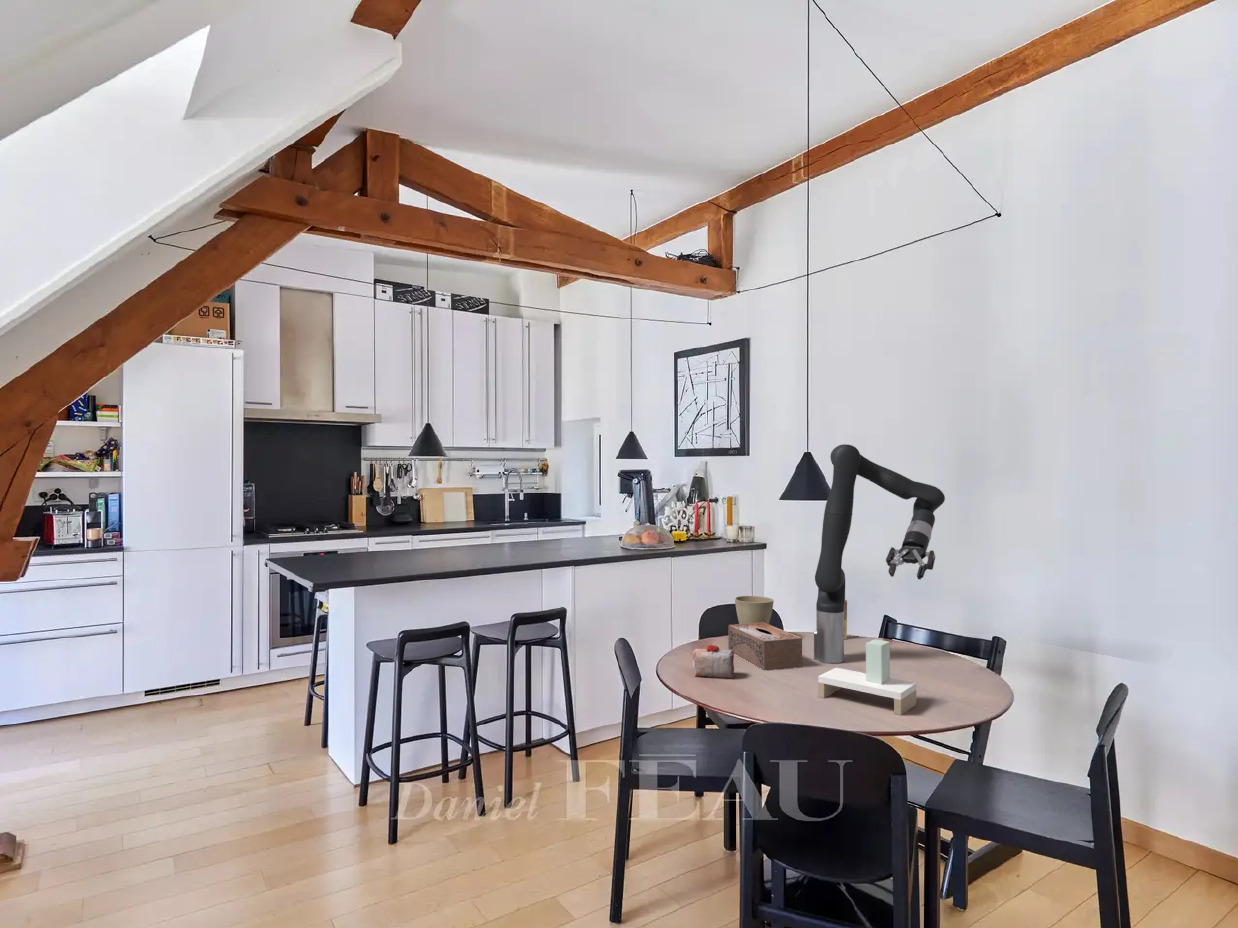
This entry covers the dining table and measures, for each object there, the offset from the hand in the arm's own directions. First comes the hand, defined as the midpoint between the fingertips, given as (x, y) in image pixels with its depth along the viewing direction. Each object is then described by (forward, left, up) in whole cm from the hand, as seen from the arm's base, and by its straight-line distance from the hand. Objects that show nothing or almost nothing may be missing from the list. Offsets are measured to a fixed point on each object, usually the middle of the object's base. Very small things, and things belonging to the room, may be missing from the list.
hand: (904, 576), depth 228 cm
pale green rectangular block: (+2, -27, -27) cm, 38 cm away
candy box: (-40, +36, -33) cm, 63 cm away
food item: (-48, -36, -33) cm, 69 cm away
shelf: (-1, -28, -33) cm, 43 cm away
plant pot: (-63, +14, -33) cm, 72 cm away
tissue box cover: (-46, -8, -33) cm, 57 cm away
